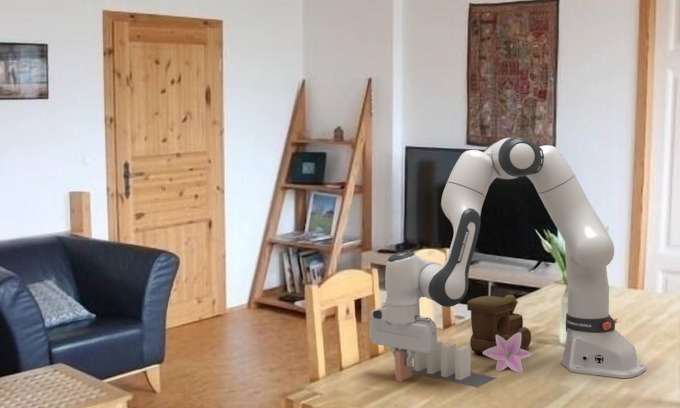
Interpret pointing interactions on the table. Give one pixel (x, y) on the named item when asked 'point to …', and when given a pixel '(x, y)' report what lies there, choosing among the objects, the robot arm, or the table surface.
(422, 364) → the domino
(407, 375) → the domino
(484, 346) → the wooden toy train
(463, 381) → the domino mat
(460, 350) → the domino
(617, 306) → the table surface
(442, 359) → the domino
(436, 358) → the domino
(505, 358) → the lily
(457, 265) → the robot arm
